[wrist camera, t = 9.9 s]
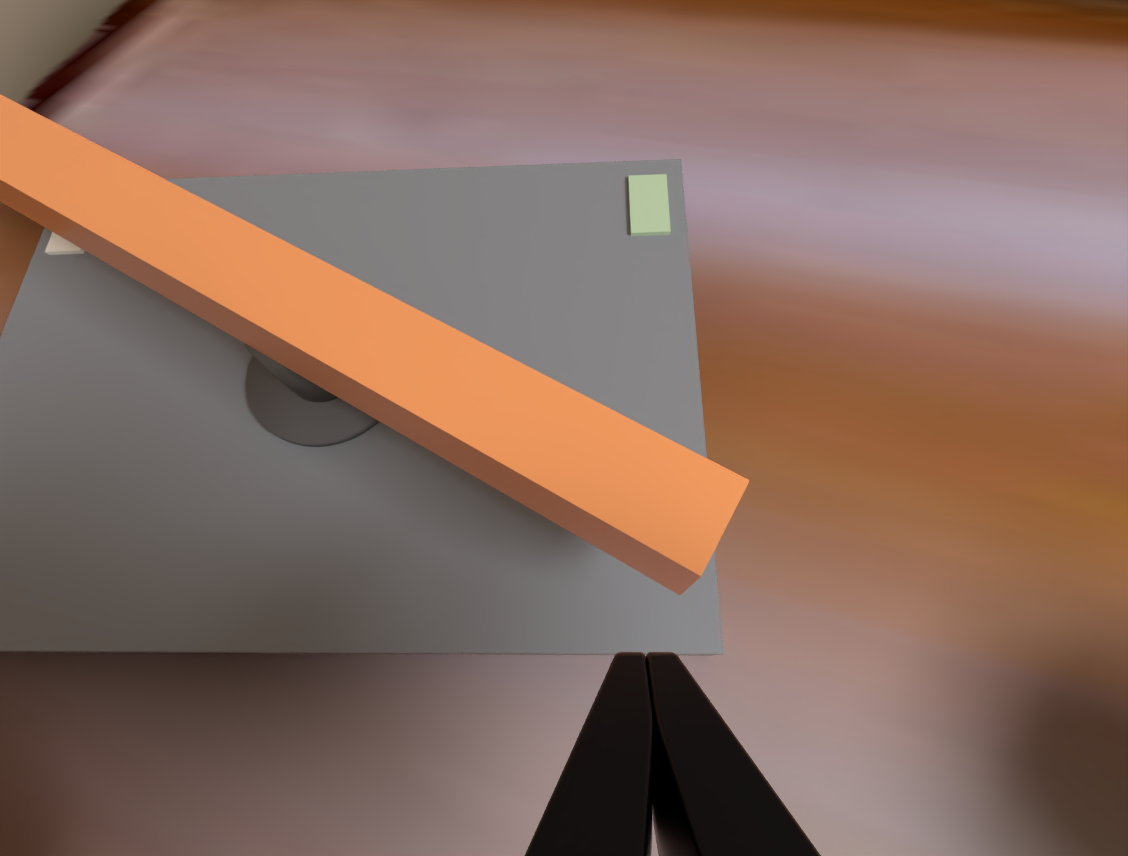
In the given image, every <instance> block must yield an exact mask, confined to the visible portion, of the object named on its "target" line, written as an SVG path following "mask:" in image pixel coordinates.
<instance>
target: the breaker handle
mask: <svg viewBox="0 0 1128 856" xmlns="http://www.w3.org/2000/svg"><path fill="white" fill-rule="evenodd" d="M0 202H2V203H4V204H5V205H7V206H9V207H10V208H12V209H14V210H16V211H17V212H19V213H21V214H23V215H24V216H26V217H28V218H29V219H31V220H33V221H35V222H36V223H38V224H40V225H42V226H43V227H45V228H47V229H48V230H50V231H52V232H54V233H55V234H57V235H59V236H60V237H62V238H64V239H66V240H67V241H69V242H71V243H73V244H74V245H76V246H78V247H79V248H81V249H83V250H85V251H86V252H88V253H90V254H92V255H93V256H95V257H97V258H98V259H100V260H102V261H104V262H105V263H107V264H109V265H111V266H112V267H114V268H116V269H117V270H119V271H121V272H123V273H124V274H126V275H128V276H129V277H131V278H133V279H135V280H136V281H138V282H140V283H142V284H143V285H145V286H147V287H148V288H150V289H152V290H154V291H155V292H157V293H159V294H161V295H162V296H164V297H166V298H167V299H169V300H171V301H173V302H174V303H176V304H178V305H180V306H181V307H183V308H185V309H186V310H188V311H190V312H192V313H193V314H195V315H197V316H199V317H200V318H202V319H204V320H205V321H207V322H209V323H211V324H212V325H214V326H216V327H217V328H219V329H221V330H223V331H224V332H226V333H228V334H230V335H231V336H233V337H235V338H236V339H238V340H240V341H242V342H243V343H244V345H245V347H246V349H247V350H248V351H249V352H250V353H251V354H252V355H253V356H254V357H255V358H257V359H258V360H259V361H260V362H261V363H262V364H263V365H264V366H265V367H267V368H268V369H269V370H270V371H271V372H272V373H273V374H274V375H275V376H277V377H278V378H279V379H280V380H281V381H282V382H283V383H284V384H285V385H287V386H288V387H289V388H290V389H291V390H292V391H293V392H294V393H295V394H297V395H298V396H299V397H300V398H302V399H304V400H307V401H310V402H327V401H331V400H334V399H336V398H340V399H342V400H343V401H345V402H347V403H349V404H350V405H352V406H354V407H356V408H357V409H359V410H361V411H362V412H364V413H366V414H368V415H369V416H371V417H373V418H374V419H376V420H378V421H380V422H381V423H383V424H385V425H387V426H388V427H390V428H392V429H393V430H395V431H397V432H399V433H400V434H402V435H404V436H406V437H407V438H409V439H411V440H412V441H414V442H416V443H418V444H419V445H421V446H423V447H425V448H426V449H428V450H430V451H431V452H433V453H435V454H437V455H438V456H440V457H442V458H444V459H445V460H447V461H449V462H450V463H452V464H454V465H456V466H457V467H459V468H461V469H462V470H464V471H466V472H468V473H469V474H471V475H473V476H475V477H476V478H478V479H480V480H481V481H483V482H485V483H487V484H488V485H490V486H492V487H494V488H495V489H497V490H499V491H500V492H502V493H504V494H506V495H507V496H509V497H511V498H513V499H514V500H516V501H518V502H519V503H521V504H523V505H525V506H526V507H528V508H530V509H531V510H533V511H535V512H537V513H538V514H540V515H542V516H544V517H545V518H547V519H549V520H550V521H552V522H554V523H556V524H557V525H559V526H561V527H563V528H564V529H566V530H568V531H569V532H571V533H573V534H575V535H576V536H578V537H580V538H582V539H583V540H585V541H587V542H588V543H590V544H592V545H594V546H595V547H597V548H599V549H601V550H602V551H604V552H606V553H607V554H609V555H611V556H613V557H614V558H616V559H618V560H619V561H621V562H623V563H625V564H626V565H628V566H630V567H632V568H633V569H635V570H637V571H638V572H640V573H642V574H644V575H645V576H647V577H649V578H651V579H652V580H654V581H656V582H657V583H659V584H661V585H663V586H664V587H666V588H668V589H670V590H671V591H673V592H675V593H676V594H678V595H681V594H682V593H684V592H685V591H686V590H687V589H688V588H689V587H690V586H691V585H692V584H693V583H695V582H696V581H697V580H698V579H699V578H700V577H701V576H702V574H703V572H704V570H705V568H706V566H707V564H708V562H709V560H710V558H711V556H712V554H713V552H714V550H715V548H716V546H717V544H718V542H719V540H720V538H721V536H722V534H723V532H724V530H725V528H726V526H727V524H728V522H729V521H730V519H731V517H732V515H733V513H734V511H735V509H736V507H737V505H738V503H739V501H740V499H741V497H742V495H743V493H744V491H745V489H746V487H747V485H748V483H749V481H750V480H748V479H746V478H744V477H742V476H740V475H738V474H736V473H734V472H732V471H730V470H728V469H726V468H724V467H723V466H721V465H719V464H717V463H715V462H713V461H711V460H709V459H707V458H705V457H703V456H701V455H699V454H697V453H695V452H693V451H691V450H690V449H688V448H686V447H684V446H682V445H680V444H678V443H676V442H674V441H672V440H670V439H668V438H666V437H664V436H662V435H660V434H658V433H657V432H655V431H653V430H651V429H649V428H647V427H645V426H643V425H641V424H639V423H637V422H635V421H633V420H631V419H629V418H627V417H625V416H624V415H622V414H620V413H618V412H616V411H614V410H612V409H610V408H608V407H606V406H604V405H602V404H600V403H598V402H596V401H594V400H592V399H591V398H589V397H587V396H585V395H583V394H581V393H579V392H577V391H575V390H573V389H571V388H569V387H567V386H565V385H563V384H561V383H559V382H557V381H556V380H554V379H552V378H550V377H548V376H546V375H544V374H542V373H540V372H538V371H536V370H534V369H532V368H530V367H528V366H526V365H524V364H523V363H521V362H519V361H517V360H515V359H513V358H511V357H509V356H507V355H505V354H503V353H501V352H499V351H497V350H495V349H493V348H491V347H490V346H488V345H486V344H484V343H482V342H480V341H478V340H476V339H474V338H472V337H470V336H468V335H466V334H464V333H462V332H460V331H458V330H457V329H455V328H453V327H451V326H449V325H447V324H445V323H443V322H441V321H439V320H437V319H435V318H433V317H431V316H429V315H427V314H425V313H424V312H422V311H420V310H418V309H416V308H414V307H412V306H410V305H408V304H406V303H404V302H402V301H400V300H398V299H396V298H394V297H392V296H390V295H389V294H387V293H385V292H383V291H381V290H379V289H377V288H375V287H373V286H371V285H369V284H367V283H365V282H363V281H361V280H359V279H357V278H356V277H354V276H352V275H350V274H348V273H346V272H344V271H342V270H340V269H338V268H336V267H334V266H332V265H330V264H328V263H326V262H324V261H323V260H321V259H319V258H317V257H315V256H313V255H311V254H309V253H307V252H305V251H303V250H301V249H299V248H297V247H295V246H293V245H291V244H290V243H288V242H286V241H284V240H282V239H280V238H278V237H276V236H274V235H272V234H270V233H268V232H266V231H264V230H262V229H260V228H258V227H257V226H255V225H253V224H251V223H249V222H247V221H245V220H243V219H241V218H239V217H237V216H235V215H233V214H231V213H229V212H227V211H225V210H223V209H222V208H220V207H218V206H216V205H214V204H212V203H210V202H208V201H206V200H204V199H202V198H200V197H198V196H196V195H194V194H192V193H190V192H189V191H187V190H185V189H183V188H181V187H179V186H177V185H175V184H173V183H171V182H169V181H167V180H165V179H163V178H161V177H159V176H157V175H156V174H154V173H152V172H150V171H148V170H146V169H144V168H142V167H140V166H138V165H136V164H134V163H132V162H130V161H128V160H126V159H124V158H123V157H121V156H119V155H117V154H115V153H113V152H111V151H109V150H107V149H105V148H103V147H101V146H99V145H97V144H95V143H93V142H91V141H90V140H88V139H86V138H84V137H82V136H80V135H78V134H76V133H74V132H72V131H70V130H68V129H66V128H64V127H62V126H60V125H58V124H57V123H55V122H53V121H51V120H49V119H47V118H45V117H43V116H41V115H39V114H37V113H35V112H33V111H31V110H29V109H27V108H25V107H23V106H22V105H20V104H18V103H16V102H14V101H12V100H10V99H8V98H6V97H4V96H2V95H0Z"/></svg>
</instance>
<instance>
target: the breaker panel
mask: <svg viewBox="0 0 1128 856" xmlns="http://www.w3.org/2000/svg"><path fill="white" fill-rule="evenodd" d="M165 180H167V181H169V182H171V183H173V184H175V185H177V186H179V187H181V188H183V189H185V190H187V191H189V192H190V193H192V194H194V195H196V196H198V197H200V198H202V199H204V200H206V201H208V202H210V203H212V204H214V205H216V206H218V207H220V208H222V209H223V210H225V211H227V212H229V213H231V214H233V215H235V216H237V217H239V218H241V219H243V220H245V221H247V222H249V223H251V224H253V225H255V226H257V227H258V228H260V229H262V230H264V231H266V232H268V233H270V234H272V235H274V236H276V237H278V238H280V239H282V240H284V241H286V242H288V243H290V244H291V245H293V246H295V247H297V248H299V249H301V250H303V251H305V252H307V253H309V254H311V255H313V256H315V257H317V258H319V259H321V260H323V261H324V262H326V263H328V264H330V265H332V266H334V267H336V268H338V269H340V270H342V271H344V272H346V273H348V274H350V275H352V276H354V277H356V278H357V279H359V280H361V281H363V282H365V283H367V284H369V285H371V286H373V287H375V288H377V289H379V290H381V291H383V292H385V293H387V294H389V295H390V296H392V297H394V298H396V299H398V300H400V301H402V302H404V303H406V304H408V305H410V306H412V307H414V308H416V309H418V310H420V311H422V312H424V313H425V314H427V315H429V316H431V317H433V318H435V319H437V320H439V321H441V322H443V323H445V324H447V325H449V326H451V327H453V328H455V329H457V330H458V331H460V332H462V333H464V334H466V335H468V336H470V337H472V338H474V339H476V340H478V341H480V342H482V343H484V344H486V345H488V346H490V347H491V348H493V349H495V350H497V351H499V352H501V353H503V354H505V355H507V356H509V357H511V358H513V359H515V360H517V361H519V362H521V363H523V364H524V365H526V366H528V367H530V368H532V369H534V370H536V371H538V372H540V373H542V374H544V375H546V376H548V377H550V378H552V379H554V380H556V381H557V382H559V383H561V384H563V385H565V386H567V387H569V388H571V389H573V390H575V391H577V392H579V393H581V394H583V395H585V396H587V397H589V398H591V399H592V400H594V401H596V402H598V403H600V404H602V405H604V406H606V407H608V408H610V409H612V410H614V411H616V412H618V413H620V414H622V415H624V416H625V417H627V418H629V419H631V420H633V421H635V422H637V423H639V424H641V425H643V426H645V427H647V428H649V429H651V430H653V431H655V432H657V433H658V434H660V435H662V436H664V437H666V438H668V439H670V440H672V441H674V442H676V443H678V444H680V445H682V446H684V447H686V448H688V449H690V450H691V451H693V452H695V453H697V454H699V455H701V456H703V457H705V458H707V456H706V444H705V432H704V421H703V409H702V397H701V386H700V374H699V362H698V351H697V339H696V327H695V316H694V304H693V292H692V281H691V269H690V258H689V246H688V234H687V223H686V211H685V199H684V188H683V176H682V164H681V159H670V160H644V161H619V162H593V163H567V164H541V165H516V166H490V167H464V168H438V169H413V170H387V171H361V172H335V173H310V174H284V175H258V176H233V177H207V178H181V179H165ZM0 652H137V653H337V654H538V655H616V654H617V653H618V652H642V653H644V655H647V654H648V653H649V652H673V653H675V654H676V655H718V654H723V642H722V631H721V619H720V607H719V596H718V584H717V572H716V561H715V550H714V552H713V554H712V556H711V558H710V560H709V562H708V564H707V566H706V568H705V570H704V572H703V574H702V576H701V577H700V578H699V579H698V580H697V581H696V582H695V583H693V584H692V585H691V586H690V587H689V588H688V589H687V590H686V591H685V592H684V593H682V594H681V595H678V594H676V593H675V592H673V591H671V590H670V589H668V588H666V587H664V586H663V585H661V584H659V583H657V582H656V581H654V580H652V579H651V578H649V577H647V576H645V575H644V574H642V573H640V572H638V571H637V570H635V569H633V568H632V567H630V566H628V565H626V564H625V563H623V562H621V561H619V560H618V559H616V558H614V557H613V556H611V555H609V554H607V553H606V552H604V551H602V550H601V549H599V548H597V547H595V546H594V545H592V544H590V543H588V542H587V541H585V540H583V539H582V538H580V537H578V536H576V535H575V534H573V533H571V532H569V531H568V530H566V529H564V528H563V527H561V526H559V525H557V524H556V523H554V522H552V521H550V520H549V519H547V518H545V517H544V516H542V515H540V514H538V513H537V512H535V511H533V510H531V509H530V508H528V507H526V506H525V505H523V504H521V503H519V502H518V501H516V500H514V499H513V498H511V497H509V496H507V495H506V494H504V493H502V492H500V491H499V490H497V489H495V488H494V487H492V486H490V485H488V484H487V483H485V482H483V481H481V480H480V479H478V478H476V477H475V476H473V475H471V474H469V473H468V472H466V471H464V470H462V469H461V468H459V467H457V466H456V465H454V464H452V463H450V462H449V461H447V460H445V459H444V458H442V457H440V456H438V455H437V454H435V453H433V452H431V451H430V450H428V449H426V448H425V447H423V446H421V445H419V444H418V443H416V442H414V441H412V440H411V439H409V438H407V437H406V436H404V435H402V434H400V433H399V432H397V431H395V430H393V429H392V428H390V427H388V426H387V425H385V424H383V423H381V422H380V421H378V420H376V419H374V418H373V417H371V416H369V415H368V414H366V413H364V412H362V411H361V410H359V409H357V408H356V407H354V406H352V405H350V404H349V403H347V402H345V401H343V400H342V399H340V398H336V399H334V400H331V401H327V402H310V401H307V400H304V399H302V398H300V397H299V396H298V395H297V394H295V393H294V392H293V391H292V390H291V389H290V388H289V387H288V386H287V385H285V384H284V383H283V382H282V381H281V380H280V379H279V378H278V377H277V376H275V375H274V374H273V373H272V372H271V371H270V370H269V369H268V368H267V367H265V366H264V365H263V364H262V363H261V362H260V361H259V360H258V359H257V358H255V357H254V356H253V355H252V354H251V353H250V352H249V351H248V350H247V349H246V347H245V345H244V343H243V342H242V341H240V340H238V339H236V338H235V337H233V336H231V335H230V334H228V333H226V332H224V331H223V330H221V329H219V328H217V327H216V326H214V325H212V324H211V323H209V322H207V321H205V320H204V319H202V318H200V317H199V316H197V315H195V314H193V313H192V312H190V311H188V310H186V309H185V308H183V307H181V306H180V305H178V304H176V303H174V302H173V301H171V300H169V299H167V298H166V297H164V296H162V295H161V294H159V293H157V292H155V291H154V290H152V289H150V288H148V287H147V286H145V285H143V284H142V283H140V282H138V281H136V280H135V279H133V278H131V277H129V276H128V275H126V274H124V273H123V272H121V271H119V270H117V269H116V268H114V267H112V266H111V265H109V264H107V263H105V262H104V261H102V260H100V259H98V258H97V257H95V256H93V255H92V254H90V253H88V252H86V251H85V250H83V249H81V248H79V247H78V246H76V245H74V244H73V243H71V242H69V241H67V240H66V239H64V238H62V237H60V236H59V235H57V234H55V233H54V232H52V231H50V230H48V229H47V228H45V227H44V230H43V232H42V235H41V237H40V240H39V242H38V245H37V247H36V250H35V252H34V255H33V257H32V260H31V262H30V265H29V267H28V270H27V272H26V275H25V277H24V280H23V282H22V285H21V287H20V290H19V292H18V295H17V297H16V300H15V302H14V305H13V307H12V310H11V312H10V315H9V317H8V320H7V322H6V325H5V327H4V330H3V332H2V335H1V337H0Z"/></svg>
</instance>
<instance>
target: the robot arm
mask: <svg viewBox="0 0 1128 856" xmlns="http://www.w3.org/2000/svg"><path fill="white" fill-rule="evenodd" d="M652 811H653V822H654V829H655V835H656V842H657V848H658V853H659V856H821V855H820V854H819V852H818V851H817V850H816V848H815V847H814V845H813V844H812V843H811V841H810V840H809V839H808V837H807V836H806V834H805V833H804V832H803V830H802V829H801V827H800V826H799V825H798V823H797V822H796V820H795V819H794V818H793V816H792V815H791V813H790V812H789V811H788V809H787V808H786V806H785V805H784V804H783V802H782V801H781V799H780V798H779V797H778V795H777V794H776V792H775V791H774V790H773V788H772V787H771V785H770V784H769V783H768V781H767V780H766V779H765V777H764V776H763V774H762V773H761V772H760V770H759V769H758V767H757V766H756V765H755V763H754V762H753V760H752V759H751V758H750V756H749V755H748V753H747V752H746V751H745V749H744V748H743V746H742V745H741V744H740V742H739V741H738V739H737V738H736V737H735V735H734V734H733V732H732V731H731V730H730V728H729V727H728V725H727V724H726V723H725V721H724V720H723V719H722V717H721V716H720V714H719V713H718V712H717V710H716V709H715V707H714V706H713V705H712V703H711V702H710V700H709V699H708V698H707V696H706V695H705V693H704V692H703V691H702V689H701V688H700V686H699V685H698V684H697V682H696V681H695V679H694V678H693V677H692V675H691V674H690V672H689V671H688V670H687V668H686V667H685V665H684V664H683V663H682V661H681V660H680V659H679V657H678V656H677V655H676V654H675V653H673V652H649V653H648V654H647V655H646V657H645V655H644V653H642V652H618V653H617V654H616V655H615V656H614V659H613V661H612V663H611V665H610V667H609V670H608V672H607V674H606V676H605V679H604V681H603V683H602V685H601V687H600V690H599V692H598V694H597V696H596V698H595V701H594V703H593V705H592V707H591V710H590V712H589V714H588V716H587V718H586V721H585V723H584V725H583V727H582V730H581V732H580V734H579V736H578V738H577V741H576V743H575V745H574V747H573V750H572V752H571V754H570V756H569V758H568V761H567V763H566V765H565V767H564V770H563V772H562V774H561V776H560V778H559V781H558V783H557V785H556V787H555V789H554V792H553V794H552V796H551V798H550V801H549V803H548V805H547V807H546V809H545V812H544V814H543V816H542V818H541V821H540V823H539V825H538V827H537V829H536V832H535V834H534V836H533V838H532V841H531V843H530V845H529V847H528V849H527V852H526V854H525V856H651V849H652Z"/></svg>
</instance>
